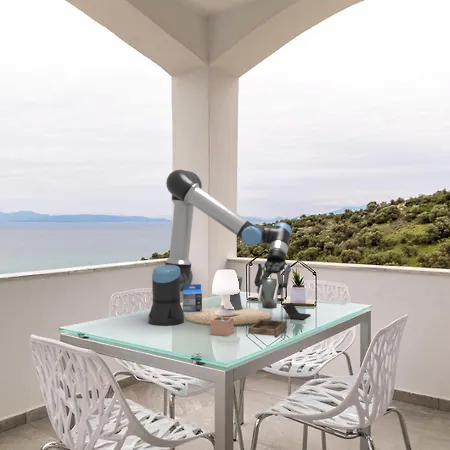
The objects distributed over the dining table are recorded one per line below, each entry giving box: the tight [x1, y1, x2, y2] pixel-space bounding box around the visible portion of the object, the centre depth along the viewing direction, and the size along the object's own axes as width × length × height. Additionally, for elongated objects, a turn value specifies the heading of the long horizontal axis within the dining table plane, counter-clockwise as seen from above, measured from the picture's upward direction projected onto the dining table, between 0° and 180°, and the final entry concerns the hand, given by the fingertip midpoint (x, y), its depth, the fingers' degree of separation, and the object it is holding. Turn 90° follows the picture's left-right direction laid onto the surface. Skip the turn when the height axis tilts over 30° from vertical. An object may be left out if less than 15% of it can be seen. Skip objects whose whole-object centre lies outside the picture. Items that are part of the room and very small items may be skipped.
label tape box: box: [182, 283, 203, 313], centre depth 242 cm, size 9×4×12 cm, turn 97°
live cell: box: [261, 276, 278, 310], centre depth 202 cm, size 6×6×12 cm
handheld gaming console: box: [283, 302, 311, 321], centre depth 229 cm, size 12×7×10 cm
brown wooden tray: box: [247, 319, 288, 338], centre depth 202 cm, size 11×16×3 cm
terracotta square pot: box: [209, 315, 235, 337], centre depth 197 cm, size 7×7×6 cm
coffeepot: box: [230, 275, 243, 311], centre depth 249 cm, size 15×9×18 cm, turn 27°
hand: (266, 300), depth 199 cm, fingers closed on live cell, 5 cm apart
